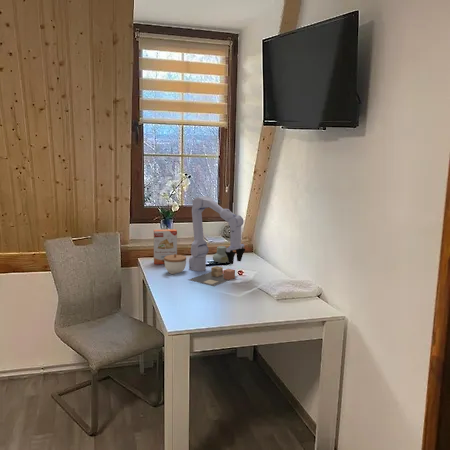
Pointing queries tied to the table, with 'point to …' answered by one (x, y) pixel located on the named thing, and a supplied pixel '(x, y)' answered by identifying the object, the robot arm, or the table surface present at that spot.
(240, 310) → the table surface
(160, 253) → the cracker box
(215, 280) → the plate
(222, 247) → the air freshener
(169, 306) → the table surface
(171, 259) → the lidded bowl
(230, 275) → the terracotta block
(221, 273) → the maple block
